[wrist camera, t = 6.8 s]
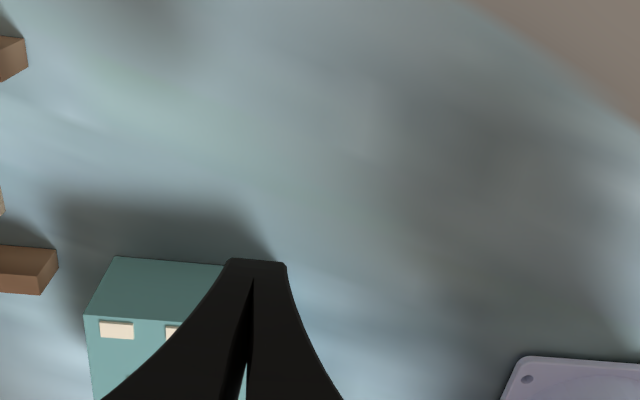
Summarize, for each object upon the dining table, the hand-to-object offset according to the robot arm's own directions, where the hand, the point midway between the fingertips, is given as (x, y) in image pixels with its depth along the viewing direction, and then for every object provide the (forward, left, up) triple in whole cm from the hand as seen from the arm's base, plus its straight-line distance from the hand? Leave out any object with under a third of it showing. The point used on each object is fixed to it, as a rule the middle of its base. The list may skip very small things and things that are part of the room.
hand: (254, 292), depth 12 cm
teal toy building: (-6, +2, -5) cm, 9 cm away
